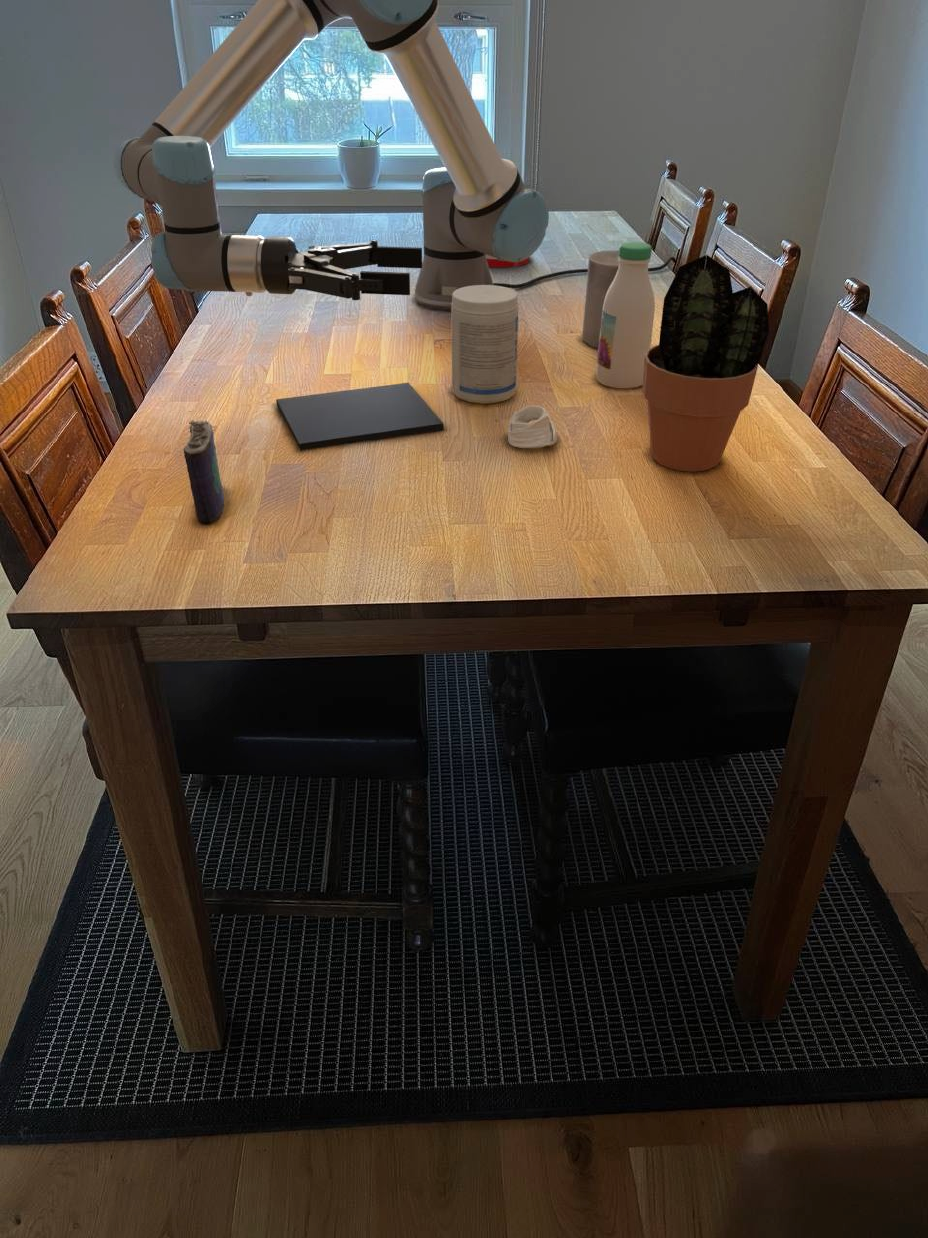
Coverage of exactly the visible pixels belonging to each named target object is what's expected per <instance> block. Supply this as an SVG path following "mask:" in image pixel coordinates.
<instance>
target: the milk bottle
mask: <svg viewBox="0 0 928 1238" xmlns="http://www.w3.org/2000/svg"><path fill="white" fill-rule="evenodd" d="M618 250H619V258H618V260H619V268H618V271H617V273H616V276H615V278H614V280H613V282H612V284H611V285H610V287H609V289H608V291H607V294H606V296H605V300H604V304H603V311H602V319H601V329H600V338H599V348H597V360H596V371H595V372H596V373H595V374H596V375H595V378H596V380H597V381H598V382H599V383H600V384H601V385H603V386H607V387H610V388H615V389H634V388H638V387H642V385H643V372H644V358H645V354H646V352H647V351H648V350H649V349H651V345H652V337H653V328H654V319H655V309H656V301H655V293H654V289H653V287H652V283H651V279H650V273H649V272H648V268H649V263H651V257H652V250H653V248H652V245H651V244H649V243H647V242H642V241H626V242H622V243H620V244H619V247H618Z"/></svg>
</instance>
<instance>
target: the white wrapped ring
mask: <svg viewBox="0 0 928 1238" xmlns="http://www.w3.org/2000/svg"><path fill="white" fill-rule="evenodd" d="M507 426H508V427H507V440H508V443H509V444H510V445H511V446H512V447H514V448H519V449H539V448H544V447H547V446H554V445H555V444H556V443H557V441H558V440H557V438H558V437H557V431H556V429H555V424H554V422H553V420H552V419H551V416H550V414H549V412H548V411H547V410H546V409H545V408H544V407H542V406H540V405H527V406H525V407H522V408H521V409H519V410H516V411H515V412H514V413H513V414H512V416H511V417H510V419H509V422H508V425H507Z"/></svg>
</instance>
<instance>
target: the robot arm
mask: <svg viewBox="0 0 928 1238" xmlns="http://www.w3.org/2000/svg"><path fill="white" fill-rule="evenodd" d="M439 5H440V3H439V0H257V2H256V3H255V4H254V5H253V6H252V7H251V8H250V10H249V11H248V12H247V13H246V15H244V17H243V18H242V19H241V20H240V21H239V23H238V24H237V25H236V26H235V27H234V28H233V30H232V31H231V32H230V33H229V34H228V35H227V36H226V38H224V40H223V41H222V42H221V44H220V45H219V46H218V47H217V48H216V49H215V51H214V52H212V54H211V55H210V56H209V57H208V59H207V60H206V61H205V62H204V63H203V65H202V66H201V67H200V68H199V69H198V70H197V72H195V74H194V75H193V76H192V77H191V78H190V80H189V81H188V82H187V83H186V84H185V85H184V87H183V88H182V89H181V90H180V91H179V93H178V94H176V96H175V97H174V98H173V99H172V100H171V102H170V103H169V104H168V105H167V106H166V107H165V109H164V110H163V111H162V112H161V113H160V114H159V116H158V117H157V118H156V119H155V120H154V122H152V123H151V124H150V126H148V128H147V129H146V130H145V131H144V132H143V133H142V135H141V136H140V137H135V138H130V139H126V140H125V141H123V142H122V143H120V145H119V146H118V147H117V149H116V152H115V155H114V161H113V163H114V164H113V165H114V170H115V173H116V176H117V178H118V180H119V181H120V183H121V184H122V186H123V187H125V188H126V189H128V190H129V191H130V192H131V193H132V194H133V195H137V197H139V198H141V199H143V200H149V201H151V202H153V203H155V204H157V205H159V206H160V207H161V213H162V217H163V226H164V232H159V233H157V234H155V236H154V237H153V239H152V242H151V246H150V252H151V258H150V263H151V268H152V270H153V271H152V272H153V274H154V277H155V279H156V281H157V282H158V283H159V284H160V285H161V286H162V287H164V288H166V289H168V290H169V289H170V290H181V291H188V292H191V293H195V292H222V293H223V292H227V293H229V292H231V293H245V295H246V296H247V297H252V296H253V293H254V294H255V293H256V294H264V293H265V292H266V291H267V292H268V294H270V295H293V294H294V293H295V292H296V290H303V291H310V292H314V293H317V294H324V295H329V296H333V297H339V298H343V299H351V300H352V301H360V300H361V294H363V295H366V294H367V295H390V296H391V295H392V296H410V295H411V272H398V271H397V272H396V271H372V270H371V271H368V270H367V271H365V270H361V271H360V273H356V272H353V271H350V269H356V268H362V267H367V266H368V267H369V266H376V267H377V268H393V269H394V268H396V269H397V268H398V269H399V268H400V269H419V273H418V276H417V280H416V283H415V287H414V300H415V301H416V303H417V304H419V305H421V306H423V307H427V308H430V309H434V310H440V311H441V310H442V311H451V307H452V305H451V303H452V294H453V292H454V291H455V290H457V289H459V288H463V287H467V286H474V285H495V286H502V287H507V288H510V289H519V288H525V287H527V286H530V285H532V284H533V285H534V284H535V283H537V282H539V281H543V280H548V279H550V278H554V277H558V276H563V275H571V274H582V273H588V268H578V269H568V270H562V271H556V272H553V273H547V274H544V275H540V276H537V277H534V278H532V279H530V280H529V281H525V282H522V283H517V284H512V283H505V282H493V277H492V274H491V271H490V267H488V263H487V260H486V254H487V255H489V256H492V257H495V258H497V259H499V260H501V261H510V262H520V261H523V260H525V259H527V258H529V257H530V258H531V256H532V255H534V253H535V252H537V250H538V249H539V248H540V246H541V244H542V243H543V241H544V238H545V237H546V232H547V228H548V227H549V219H550V212H549V208H548V207H549V206H548V203H547V200H546V199H545V197H544V196H543V195H542V194H541V193H540V192H538V191H537V189H533V188H527V187H526V185H525V182H524V180H523V179H522V176H521V174H520V172H519V170H518V168H517V166H516V164H515V163H514V162H513V161H512V160H509V159H505V158H502V157H501V155H500V153H499V151H498V148H497V146H496V144H495V142H494V140H493V138H492V136H491V134H490V132H489V130H488V128H487V126H486V123H485V121H484V119H483V117H482V115H481V113H480V110H479V108H478V106H477V105H476V103H475V100H474V98H473V96H472V95H471V92H470V90H469V88H468V86H467V84H466V82H465V79H464V77H463V75H462V73H461V71H460V70H459V68H458V65H457V63H456V61H455V59H454V57H453V55H452V52H451V50H450V48H449V46H448V45H447V42H446V40H445V38H444V36H443V33H442V31H441V29H440V28H439V26H438V23H437V22H436V18H437V14H438V10H439ZM343 19H349V20H352V21H353V23H354V25H355V27H356V28H357V30H358V32H359V34H360V36H361V38H362V39H363V41H364V42H365V45H366V46H367V48H368V50H369V51H370V52H371V53H375V54H379V55H382V56H384V57H385V59H386V60H387V62H388V64H389V66H390V68H391V70H392V72H393V74H394V76H395V78H396V80H397V81H398V83H399V85H400V87H401V89H402V90H403V92H404V94H405V96H406V97H407V99H408V101H409V103H410V105H411V107H412V109H413V111H414V112H415V115H416V116H417V118H418V120H419V122H420V124H421V125H422V127H423V129H424V132H425V133H426V135H427V137H428V139H429V141H430V142H431V144H432V146H433V148H434V149H435V152H436V154H437V155H438V157H439V159H440V161H441V163H442V165H443V166H444V167H437V168H431V169H429V170H427V171H426V172H425V173H424V175H423V178H422V189H421V197H422V229H423V231H422V232H423V233H422V235H423V238H422V239H423V247H415V246H414V247H411V246H385V245H383V246H381V245H379V244H378V240H377V239H370V241H369V242H357V243H344V244H343V243H342V244H332V245H313V244H311V245H309V246H308V249H307V251H305V252H304V251H303V252H299V251H298V249H297V245H296V242H295V241H294V239H293V238H292V237H289V236H269V235H268V236H266V237H263V236H262V235H249V234H247V235H246V234H245V235H244V234H243V235H242V234H224V233H223V232H222V227H221V226H222V225H221V219H220V212H219V203H218V195H217V187H216V186H217V185H216V178H215V172H216V170H215V166H214V163H213V159H212V154H211V147H213V145H215V143H216V142H217V141H218V139H219V138H220V137H221V136H222V135H223V134H224V133H225V132H226V130H228V128H229V127H230V126H231V125H232V124H233V122H234V121H235V120H236V119H237V118H238V117H239V115H240V114H241V113H242V112H243V111H244V109H246V107H247V106H248V105H249V104H250V102H252V100H253V99H254V98H255V97H256V95H258V94H259V92H260V91H261V90H262V89H263V88H264V86H265V85H266V84H267V83H268V82H269V81H270V80H271V78H272V77H273V76H274V75H275V74H276V73H277V72H278V71H279V69H280V68H281V67H282V65H284V64H285V62H286V61H287V60H288V59H289V58H290V56H291V55H292V54H293V53H294V52H295V51H296V50H297V49H298V47H299V46H300V45H301V44H302V43H303V41H305V40H310V41H311V40H312V41H314V40H316V38H317V37H318V36H319V35H320V34H321V33H322V32H323V30H325V28H327V27H328V26H329V25H331V24H333V23H334V22H336V21H339V20H343ZM671 261H672V262H673V264H677V263H678V261H677V259H676V258H675V257H674V256H669V257H668V258H667V259H666V261H665V262H663V264H661V265H659V266H655V267H648V273H649V272H656V271H661V270H664V269H665V268H666V267H667V266H668V265H669V264H670V263H671Z"/></svg>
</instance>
